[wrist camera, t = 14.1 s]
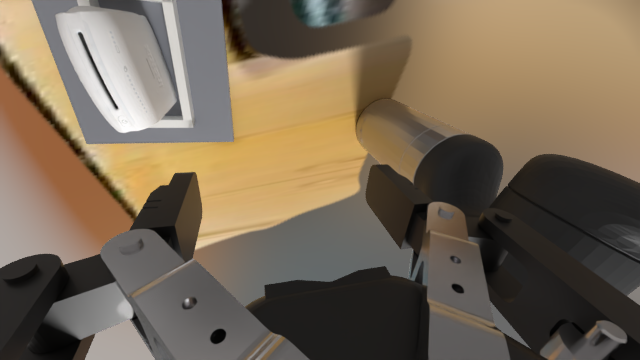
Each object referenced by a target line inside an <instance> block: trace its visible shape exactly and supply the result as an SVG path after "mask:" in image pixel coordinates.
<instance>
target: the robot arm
mask: <svg viewBox="0 0 640 360" xmlns="http://www.w3.org/2000/svg"><path fill="white" fill-rule="evenodd" d="M356 134H357V139H358V141H359V143H360V144H361V145H362V146H363V147H364V148H365V149H366V150H367V151H368V152H369V153H370V154H371V155H372V156H373V157H374V158H375V159H376V160H377V161H378V162H379V163H380V164H381V165H372V167H371V169H370V173H369V178H368V183H367V189H366V201H367V203H368V205H369V206H370V208H371V209H372V211H373V212H374V213H375V215H376V216H377V217H378V219H379V220H380V221H381V223H382V224H383V226H384V227H385V228H386V230H387V231H388V232H389V234H390V235H391V237H392V238H393V240H394V241H395V242H396V244H397V245H398V246H399V248H400V249H406V248H413V252H412V255H411V260H410V268H409V275H408V279H406V278H403V277H398V276H391V275H390V273H389V272H388V270H387V268H386V267H385V266H384V267H377V268H371V269H364V270H358V271H356V272H353V273H351V274H349V275H347V276H344V277H342V278H340V279H337V280H335V281H333V282H321V281H304V280H295V281H288V282H282V283H276V284H269V285H265V296H263V297H261V298H259V299H257V300H255V301H253V302H251V303H250V304H248V305H247V306H246V307H244V306H243V305H242V304H241V303H240V302H239V301H238V300H237V299H236V298H235V297H234V296H233V295H232V294H231V293H230V292H229V291H227V290H226V289H225V288H224V287H223V286H222V285H221V284H220V283H219V282H218V281H217V280H216V279H215V278H214V277H213V276H212V275H211V274H210V273H209V272H208V271H207V270H206V269H205V268H203V267H202V266H201V265H200V264H199V263H198V262H197V261H196V260H194V259H192V258H193V254H194V250H195V245H196V241H197V236H198V232H199V228H200V223H201V219H202V203H201V197H200V191H199V186H198V180H197V175H196V173H195V172H189V173H175V174H174V176H173V178H172V180H171V182H170V184H169V185H163V186H160V187H158V188H157V189H156V190H154V191H153V192H152V193H151V194H150V196H149V197H148V199H147V201H146V203H145V204H144V206H143V209H141V211H140V213H139V214H138V216H137V218H136V220H135V221H134V223H133V225H132V227H131V228H130V230H129V231H127V232H124V233H121V234H119V235H117V236H115V237H113V238H112V239H111V240H109V241H108V242H107V243H106V244H105V245H104V246H103V247H102V249H101V252H100V254H98V255H95V256H93V257H89V258H86V259H82V260H79V261H75V262H72V263H68V264H65V265H63V263H62V261H61V259H60V258H59V257H58V256H56V255H53V254H38V255H33V256H29V257H25V258H22V259H19V260H17V261H14V262H12V263H10V264H8V265H6V266H4V267H2V268H0V360H85V357H86V355H87V353H88V350H89V348H90V345H91V343H92V341H93V338H94V336H95V334H96V333H98V332H100V331H102V330H105V329H107V328H109V327H112V326H114V325H117V324H119V323H121V322H124V321H126V320H129V319H130V320H131V322H132V324H133V325H134V327H135V328H136V330H137V332H138V333H139V335H140V336H141V338H142V340H143V341H144V342H145V344H146V346H147V347H148V349H149V350H150V352H151V354H152V355H153V357H154V358H155V360H640V305H638V304H637V303H635V302H634V301H633V300H631V299H630V298H629V297H627V295H628V294H630V293H631V292H632V291H634V290H635V289H636V288H637V287H639V286H640V183H638V182H635V181H633V180H631V179H628V178H627V177H624V176H622V175H620V174H617V173H615V172H613V171H610V170H607V169H605V168H602V167H599V166H597V165H594V164H591V163H588V162H585V161H581V160H579V159H576V158H571V157H567V156H562V155H556V154H543V155H538V156H536V157H534V158H532V159H531V160H530V161H528V162H527V163H526V164H525V165H524V167H523V168H522V169H521V170H520V171H519V172H518V173H517V174H516V175H515V177H514V178H513V179H512V180H511V181H510V182H509V184H508V186H509V187H508V186H506V187H505V188H504V189H503V191H502V192H501V193H500V194H499V195H498V197H497V193H498V189H499V186H500V182H501V179H502V175H503V160H502V157H501V155H500V153H499V151H498V150H497V149H496V148H495V147H494V146H493V145H492V144H490V143H488V142H487V141H485V140H482V139H480V138H478V137H476V136H473V135H471V134H468V133H466V132H464V131H462V130H460V129H457V128H455V127H453V126H450V125H448V124H446V123H444V122H441V121H439V120H437V119H435V118H433V117H430V116H428V115H426V114H424V113H421V112H419V111H417V110H415V109H413V108H410V107H408V106H406V105H404V104H402V103H400V102H397V101H395V100H392V99H380V100H377V101H375V102H373V103H372V104H370V105H369V106H368V107H367V108H366V109H365V110H364V111H363V112H362V114H361V115H360V117H359V119H358V122H357V126H356ZM496 197H497V198H496ZM490 301H491V302H492V303H493V305H494V306H495V307H496V308H497V309H498V311H499V312H500V313H501V314H502V315H503V317H504V318H505V319H506V320H507V321H508V322H509V323H510V325H511V326H512V327H513V328H514V329H515V331H516V332H517V333H518V334H519V335H520V336H521V338H522V339H523V340H524V341H525V342H526V343H527V344H528V346H529V347H530V348H531V349H532V350H531V349H530V348H528V347H526V346H525V345H523V344H521V343H520V342H518V341H516V340H514V339H513V338H511V337H509V336H507V335H506V334H504V333H503V332H501V330H499V329H498V328H497V327H496V326H495V323H494V318H493V313H492V308H491V304H490Z"/></svg>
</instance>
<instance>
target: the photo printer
mask: <svg viewBox="0 0 640 360" xmlns="http://www.w3.org/2000/svg"><path fill="white" fill-rule="evenodd" d="M55 17H56V22H57V26H58V30H59V33H60V36H61V39H62V42H63V44H64V47H65V49H66V52H67V54H68V56H69V58H70V61H71V63H72V65H73V67H74V70H75V71H76V73H77V75H78V76H79V79H80V81H81V82H82V84H83V86H84V87H85V89H86V91H87V92H88V94H89V96H90V97H91V99H92V101H93V102H94V104H95V105H96V107H97V108H98V109H99V111H100V112H101V114H102V115H103V116H104V118H105V119H106V120H107V121H108V122H109V124H110V125H111V126H112V127H113V128H114V129H116V130H117V131H118V132H120V133H126V132H130V131H140V130H143V129H146V128H148V127H150V126H153V125H155V124H156V123H158V122H159V121H160V119H161V118H162V117H163V116H164V115H165V114H166V113H167V112H168V111H169V110H170V109H171V107H172V106H173V105H174V104H175V103H176V101H177V98H176V92H175V89H174V85H173V82H172V79H171V77H170V74H169V71H168V68H167V65H166V63H165V60H164V57H163V55H162V52H161V50H160V47H159V45H158V42H157V40H156V37H155V35H154V33H153V30H152V28H151V26H150V24H149V22H148V20H147V19H146V17H145V16H143V15H138V14H136V13H133V12H127V11H121V10H114V9H106V8H99V7H93V6H76V7H73V8H71V9H69V10H68V11H67V12H64V13H58V14H56V15H55Z"/></svg>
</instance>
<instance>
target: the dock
mask: <svg viewBox="0 0 640 360" xmlns="http://www.w3.org/2000/svg"><path fill="white" fill-rule="evenodd" d="M32 3H33V5H34V8H35V11H36V13H37V16H38V18H39V21H40V24H41V26H42V29H43V31H44V34H45V37H46V39H47V42H48V44H49V47H50V50H51V52H52V55H53V57H54V60H55V63H56V65H57V68H58V70H59V73H60V76H61V78H62V81H63V83H64V86H65V89H66V91H67V94H68V96H69V99H70V102H71V104H72V107H73V109H74V112H75V115H76V117H77V120H78V122H79V125H80V128H81V130H82V133H83V135H84V138H85V141H86V143H87V144H114V143H177V142H234V133H233V122H232V111H231V100H230V88H229V77H228V66H227V55H226V43H225V32H224V21H223V10H222V0H32ZM76 6H93V7H99V8H106V9H114V10H121V11H127V12H133V13H136V14H138V15H143V16H145V17H146V19H147V20H148V22H149V24H150V26H151V28H152V30H153V33H154V35H155V37H156V40H157V42H158V45H159V47H160V50H161V52H162V55H163V57H164V60H165V63H166V65H167V68H168V71H169V74H170V77H171V79H172V82H173V85H174V89H175V92H176V98H177V101H176V103H175V104H174V105H173V106H172V107H171V109H170V110H169V111H168V112H167V113H166V114H165V115H164V116H163V117H162V118H161V119H160V121H159V122H158V123H156V124H155V125H153V126H150V127H148V128H146V129H143V130H140V131H130V132H126V133H120V132H118V131H117V130H116V129H114V128H113V127H112V126H111V125H110V124H109V122H108V121H107V120H106V119H105V118H104V116H103V115H102V114H101V112H100V111H99V109H98V108H97V107H96V105H95V104H94V102H93V101H92V99H91V97H90V96H89V94H88V92H87V91H86V89H85V87H84V86H83V84H82V82H81V81H80V79H79V76H78V75H77V73H76V71H75V70H74V67H73V65H72V63H71V61H70V58H69V56H68V54H67V52H66V49H65V47H64V44H63V42H62V39H61V36H60V33H59V30H58V26H57V22H56V17H55V15H56V14H58V13H64V12H67V11H68V10H69V9H71V8H73V7H76Z"/></svg>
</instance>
